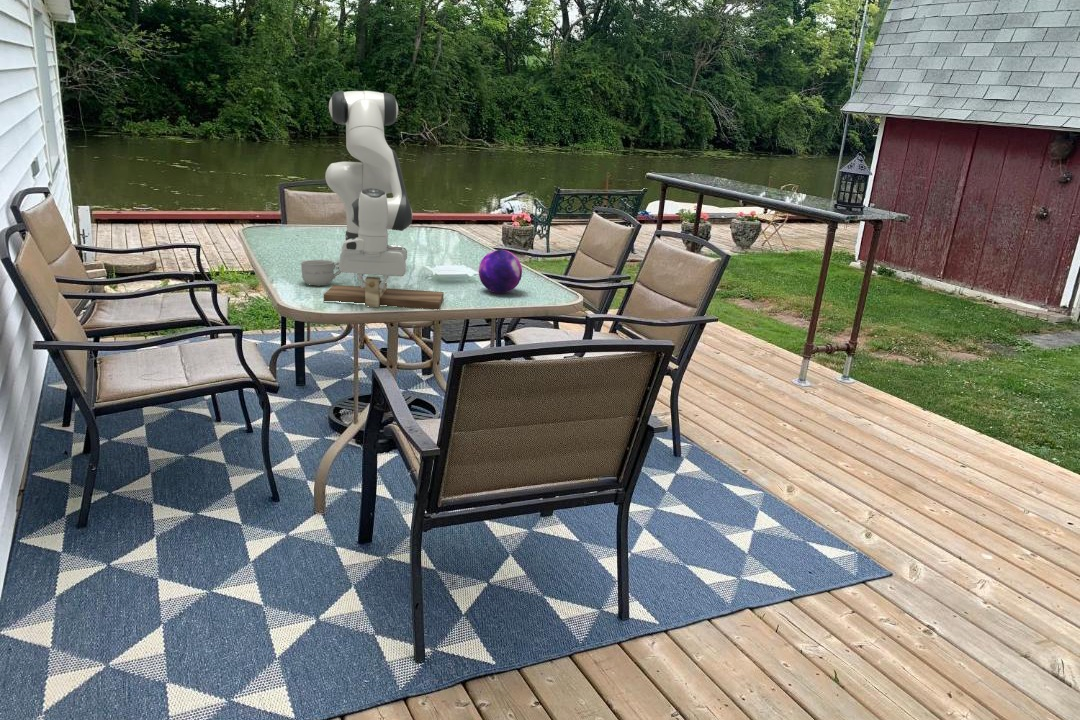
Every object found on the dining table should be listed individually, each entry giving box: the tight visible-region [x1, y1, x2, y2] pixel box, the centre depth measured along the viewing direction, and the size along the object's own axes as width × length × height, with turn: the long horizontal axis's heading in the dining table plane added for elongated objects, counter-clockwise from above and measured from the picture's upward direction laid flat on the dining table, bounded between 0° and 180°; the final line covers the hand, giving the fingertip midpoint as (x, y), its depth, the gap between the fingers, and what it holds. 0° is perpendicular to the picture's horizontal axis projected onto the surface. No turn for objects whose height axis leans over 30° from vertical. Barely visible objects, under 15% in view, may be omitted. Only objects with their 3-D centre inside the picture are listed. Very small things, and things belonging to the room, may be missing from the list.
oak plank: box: [323, 284, 445, 311], centre depth 259 cm, size 14×36×2 cm, turn 91°
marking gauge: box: [364, 276, 388, 308], centre depth 255 cm, size 17×4×9 cm, turn 1°
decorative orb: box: [478, 249, 523, 294], centre depth 279 cm, size 15×15×15 cm
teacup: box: [300, 259, 342, 287], centre depth 273 cm, size 14×11×8 cm
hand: (372, 288), depth 249 cm, fingers closed on marking gauge, 4 cm apart
